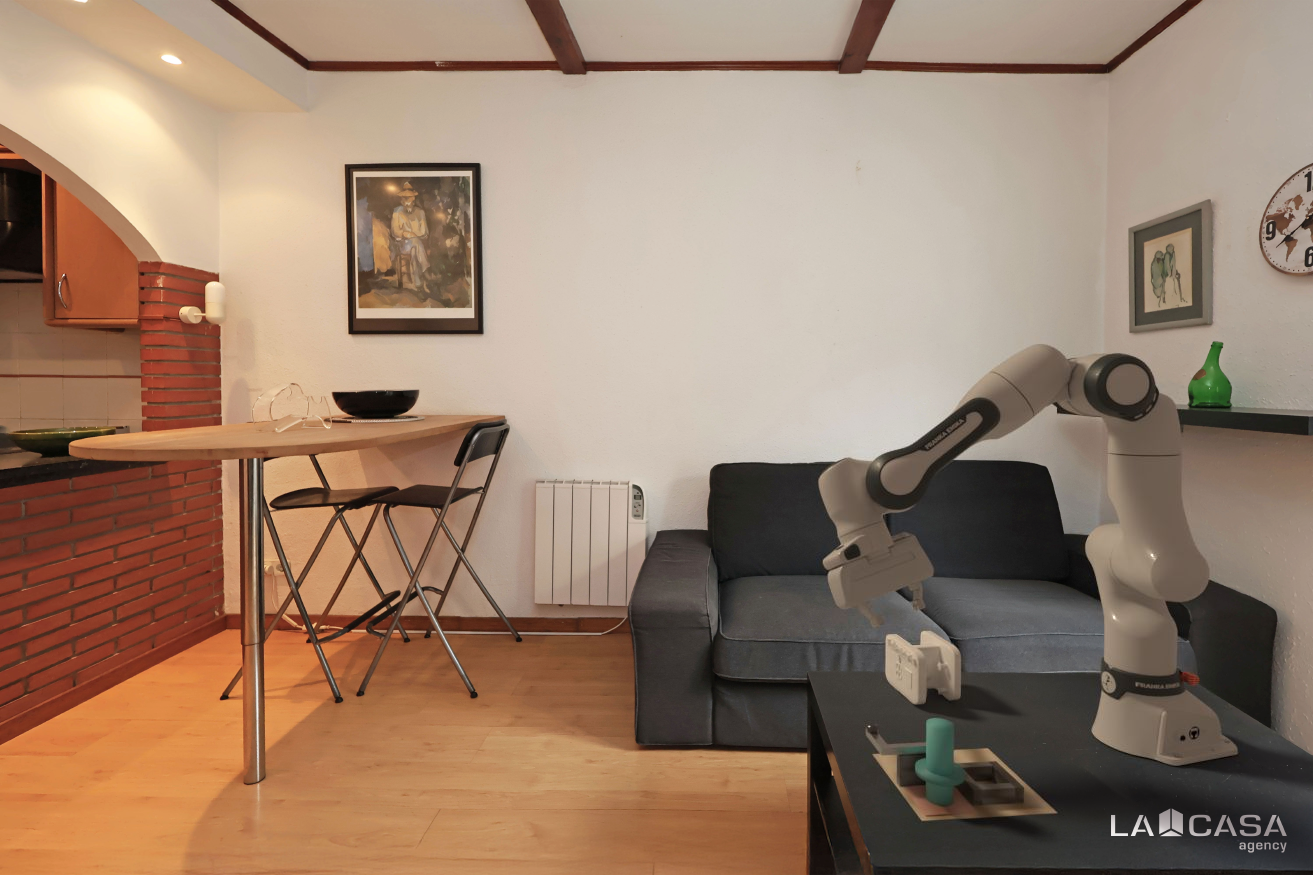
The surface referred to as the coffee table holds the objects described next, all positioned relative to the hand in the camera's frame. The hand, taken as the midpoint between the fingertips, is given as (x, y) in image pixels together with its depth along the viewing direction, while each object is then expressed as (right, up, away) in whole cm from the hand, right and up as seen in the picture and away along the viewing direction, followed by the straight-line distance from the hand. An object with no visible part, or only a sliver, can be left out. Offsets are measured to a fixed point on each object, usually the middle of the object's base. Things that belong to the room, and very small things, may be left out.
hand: (899, 617), depth 131 cm
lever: (-3, -19, -9) cm, 21 cm away
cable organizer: (+13, -23, +25) cm, 36 cm away
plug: (+1, -24, -17) cm, 29 cm away
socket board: (+6, -25, -11) cm, 28 cm away
